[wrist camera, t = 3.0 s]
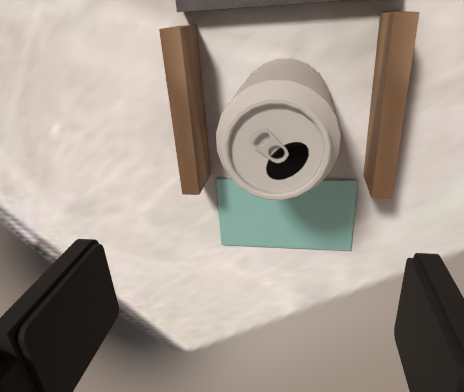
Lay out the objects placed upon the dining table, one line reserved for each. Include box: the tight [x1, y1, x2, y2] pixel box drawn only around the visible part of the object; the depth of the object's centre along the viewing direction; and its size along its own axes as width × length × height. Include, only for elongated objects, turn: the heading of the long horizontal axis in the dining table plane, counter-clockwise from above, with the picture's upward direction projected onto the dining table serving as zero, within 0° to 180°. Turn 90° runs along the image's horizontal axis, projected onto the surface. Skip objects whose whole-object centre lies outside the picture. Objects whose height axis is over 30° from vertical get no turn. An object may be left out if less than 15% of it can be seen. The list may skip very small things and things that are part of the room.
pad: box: [216, 178, 358, 251], centre depth 36 cm, size 13×8×1 cm, turn 94°
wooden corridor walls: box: [159, 11, 419, 199], centre depth 29 cm, size 17×13×4 cm
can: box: [216, 59, 341, 200], centre depth 26 cm, size 8×8×12 cm
